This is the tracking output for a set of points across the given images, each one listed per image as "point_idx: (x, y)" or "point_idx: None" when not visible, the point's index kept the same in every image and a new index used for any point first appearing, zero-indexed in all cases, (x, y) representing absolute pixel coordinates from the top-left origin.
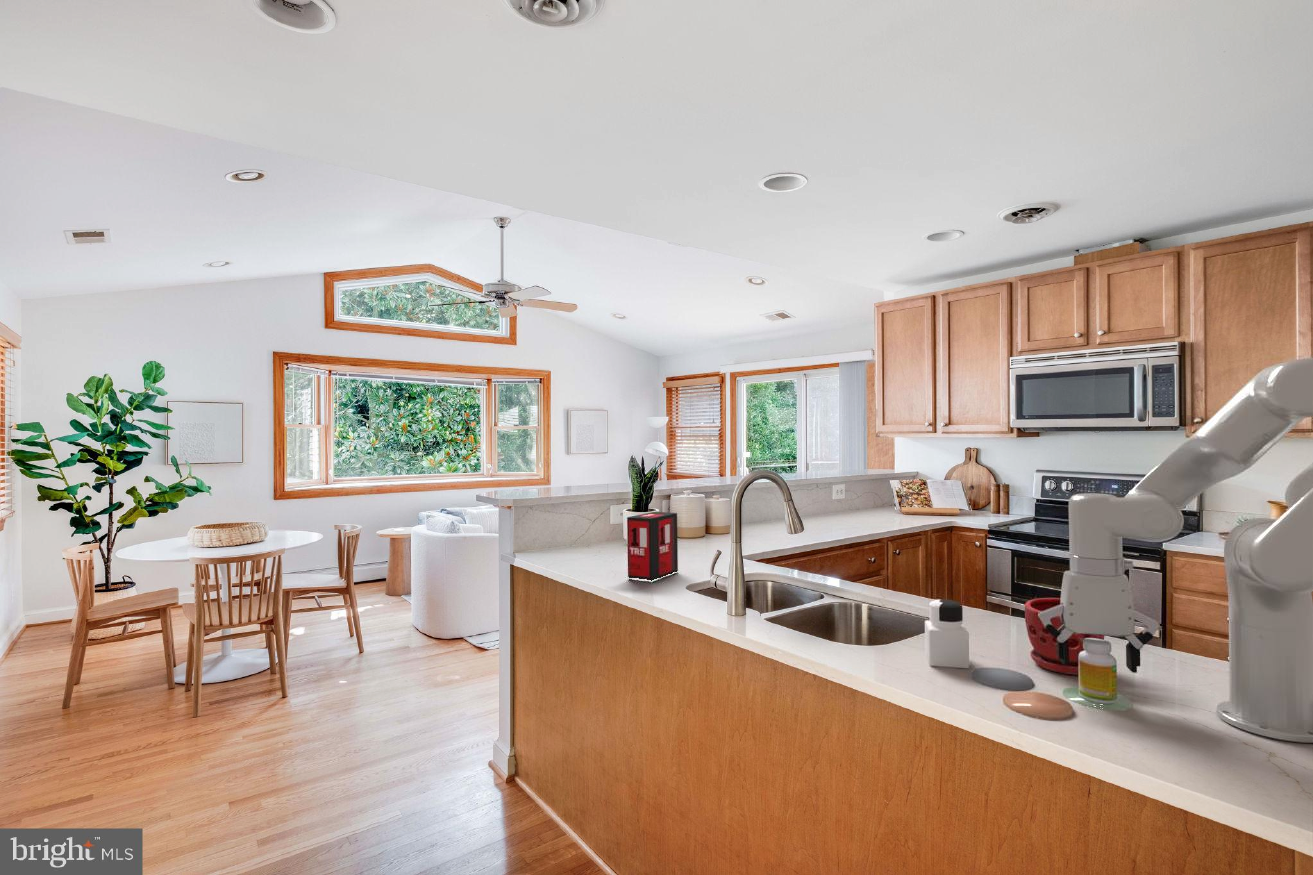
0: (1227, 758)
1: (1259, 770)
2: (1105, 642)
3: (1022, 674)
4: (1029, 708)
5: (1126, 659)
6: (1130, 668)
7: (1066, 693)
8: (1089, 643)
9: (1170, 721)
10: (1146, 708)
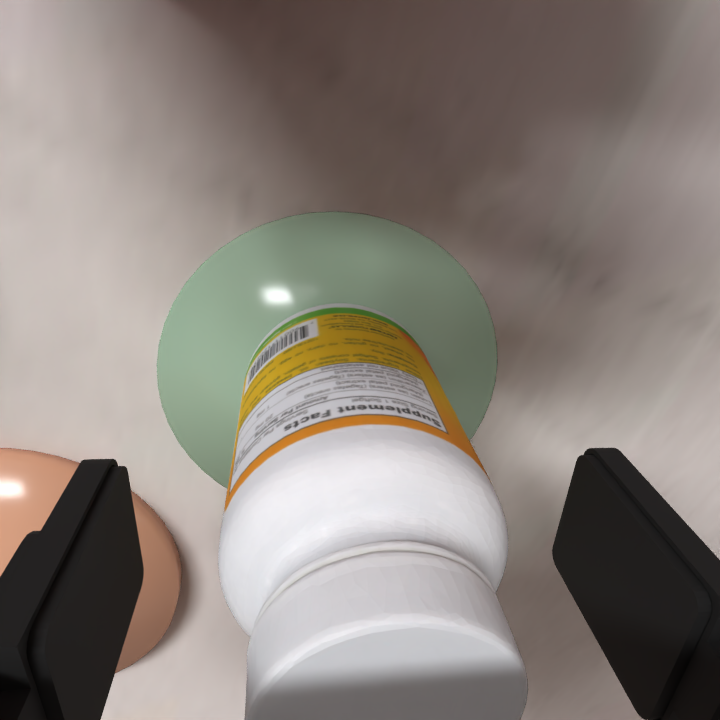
0: (565, 717)
1: None
2: (474, 714)
3: None
4: None
5: (606, 496)
6: (562, 550)
7: (179, 368)
8: None
9: (552, 537)
10: (526, 437)
